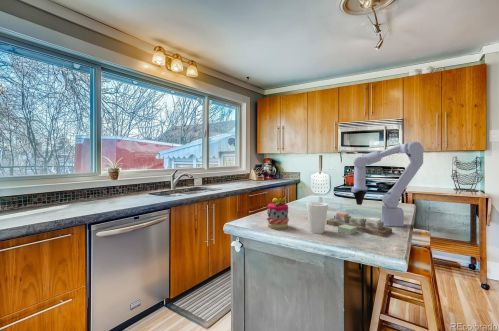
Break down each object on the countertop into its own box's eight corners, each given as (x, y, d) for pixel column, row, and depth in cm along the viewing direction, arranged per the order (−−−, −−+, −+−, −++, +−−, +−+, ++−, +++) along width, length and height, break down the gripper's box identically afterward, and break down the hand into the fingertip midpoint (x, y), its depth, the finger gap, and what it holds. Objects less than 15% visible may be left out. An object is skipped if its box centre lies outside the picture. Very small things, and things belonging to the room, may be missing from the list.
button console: (392, 232, 117) (392, 222, 117) (383, 236, 111) (383, 226, 111) (336, 220, 138) (336, 212, 138) (326, 224, 132) (326, 215, 132)
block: (356, 232, 118) (356, 226, 118) (350, 234, 114) (350, 229, 114) (344, 229, 122) (344, 224, 122) (337, 231, 118) (338, 226, 118)
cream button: (381, 225, 118) (381, 219, 118) (377, 227, 115) (377, 220, 115) (371, 223, 122) (371, 217, 121) (367, 225, 119) (367, 218, 119)
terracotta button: (348, 219, 130) (348, 213, 130) (344, 220, 127) (344, 214, 127) (340, 217, 134) (340, 211, 134) (336, 218, 131) (336, 213, 131)
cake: (263, 227, 125) (263, 197, 125) (272, 222, 134) (272, 194, 134) (284, 230, 120) (284, 199, 120) (291, 225, 129) (291, 196, 129)
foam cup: (323, 235, 113) (324, 206, 112) (303, 232, 117) (304, 204, 117) (329, 230, 121) (329, 203, 120) (310, 227, 125) (310, 201, 125)
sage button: (363, 223, 124) (364, 217, 124) (359, 225, 121) (359, 219, 121) (355, 222, 128) (355, 216, 128) (350, 223, 125) (351, 217, 125)
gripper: (358, 178, 143) (358, 202, 144) (345, 179, 134) (345, 205, 134) (371, 179, 138) (370, 203, 138) (358, 180, 128) (358, 207, 129)
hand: (359, 204), depth 136 cm, fingers closed
